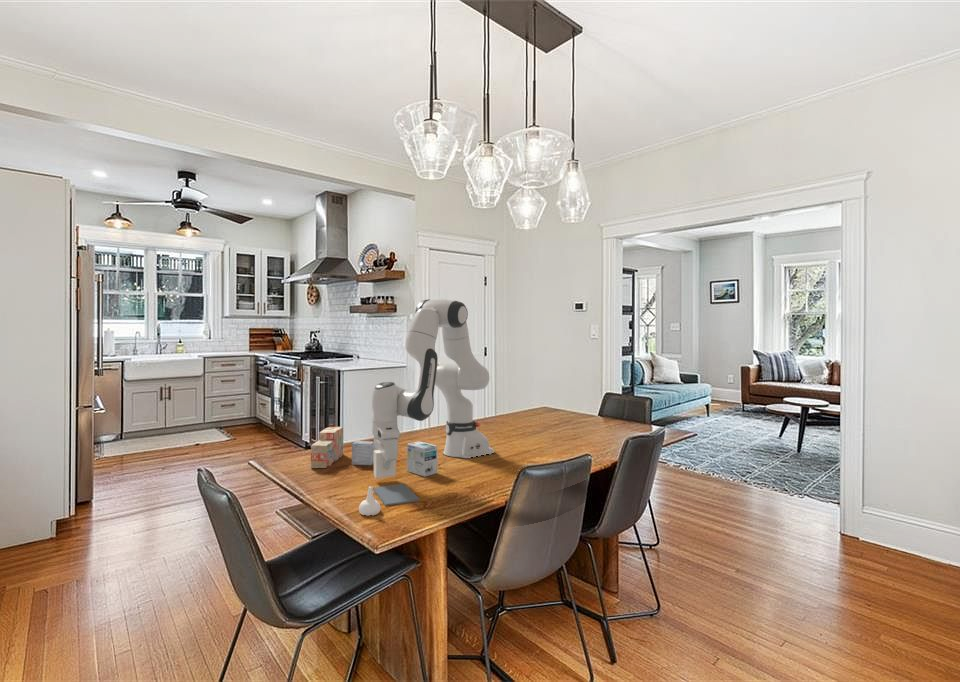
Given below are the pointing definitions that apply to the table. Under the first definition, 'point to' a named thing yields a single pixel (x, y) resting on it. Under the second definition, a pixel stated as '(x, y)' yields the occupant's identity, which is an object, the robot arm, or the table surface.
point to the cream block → (379, 466)
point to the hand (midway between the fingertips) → (384, 467)
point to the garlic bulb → (369, 504)
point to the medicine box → (362, 453)
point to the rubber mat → (395, 494)
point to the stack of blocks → (327, 447)
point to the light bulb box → (422, 458)
